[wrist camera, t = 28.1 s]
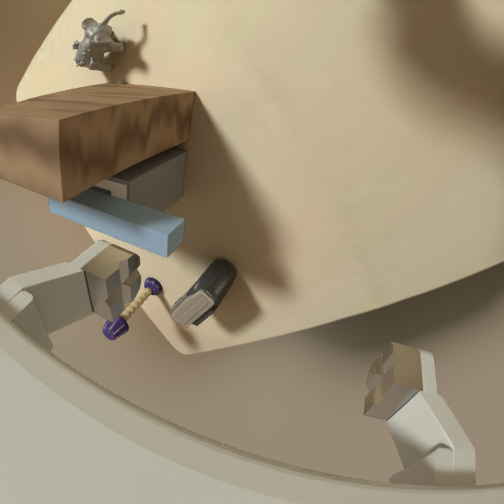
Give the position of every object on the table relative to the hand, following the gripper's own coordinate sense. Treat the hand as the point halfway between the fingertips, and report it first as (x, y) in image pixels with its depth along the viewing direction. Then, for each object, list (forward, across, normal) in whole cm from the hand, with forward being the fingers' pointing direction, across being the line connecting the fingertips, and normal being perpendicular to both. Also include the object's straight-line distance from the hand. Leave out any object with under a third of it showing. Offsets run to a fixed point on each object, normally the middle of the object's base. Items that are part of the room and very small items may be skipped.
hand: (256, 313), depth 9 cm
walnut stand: (+37, +30, +3) cm, 48 cm away
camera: (+37, +13, +32) cm, 51 cm away
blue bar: (+22, +23, +13) cm, 34 cm away
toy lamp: (+37, +27, +40) cm, 61 cm away
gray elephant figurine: (+37, +39, -9) cm, 55 cm away
